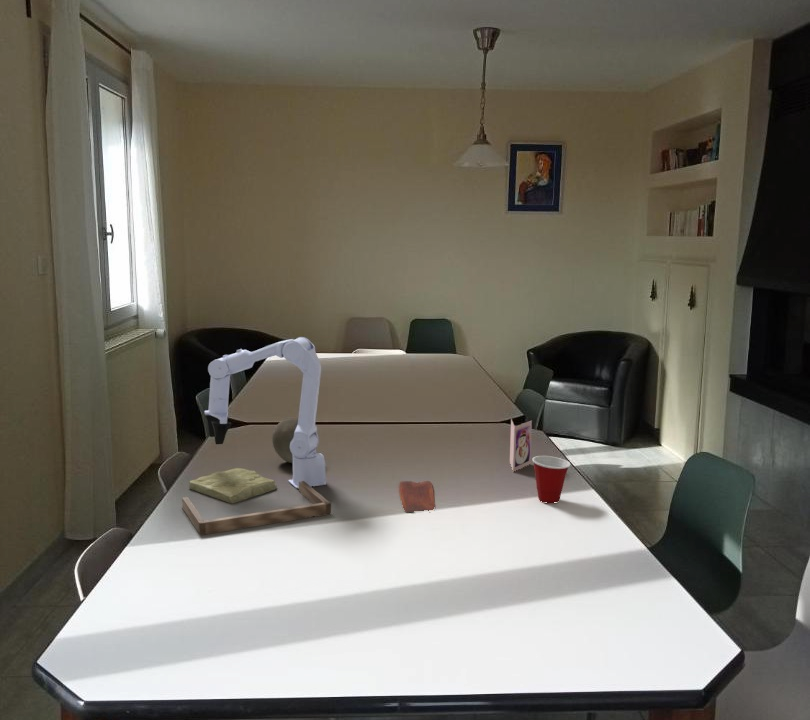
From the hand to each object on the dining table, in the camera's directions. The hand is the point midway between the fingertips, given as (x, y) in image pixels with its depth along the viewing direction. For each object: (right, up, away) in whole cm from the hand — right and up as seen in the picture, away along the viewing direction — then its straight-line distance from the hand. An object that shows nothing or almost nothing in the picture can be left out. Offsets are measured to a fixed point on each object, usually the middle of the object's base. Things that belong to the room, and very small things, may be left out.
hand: (216, 440), depth 239 cm
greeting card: (+94, -11, +17) cm, 96 cm away
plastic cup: (+99, -16, -16) cm, 102 cm away
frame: (+18, -16, -27) cm, 36 cm away
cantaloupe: (+21, -10, +18) cm, 29 cm away
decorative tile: (+8, -14, -8) cm, 18 cm away
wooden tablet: (+61, -16, -14) cm, 65 cm away
